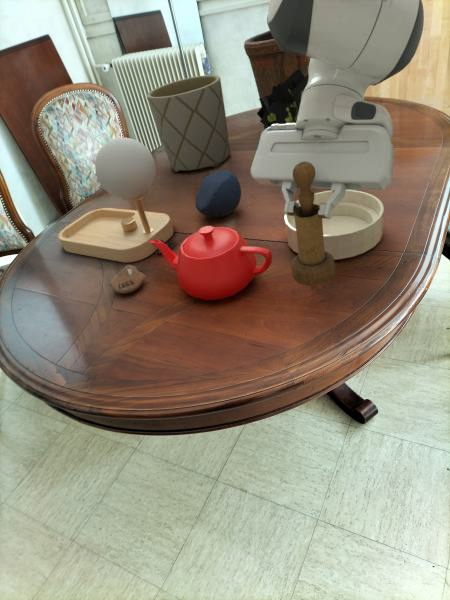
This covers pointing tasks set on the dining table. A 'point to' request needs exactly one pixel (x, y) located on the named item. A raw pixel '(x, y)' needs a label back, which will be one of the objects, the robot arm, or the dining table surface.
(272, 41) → the clay pot
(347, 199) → the bowl
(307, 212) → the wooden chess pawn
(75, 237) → the lamp
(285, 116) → the potted plant
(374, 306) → the dining table surface
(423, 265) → the dining table surface
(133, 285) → the oil lamp
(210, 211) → the decorative stone
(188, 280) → the teapot
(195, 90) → the planter
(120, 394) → the dining table surface
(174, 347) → the dining table surface
